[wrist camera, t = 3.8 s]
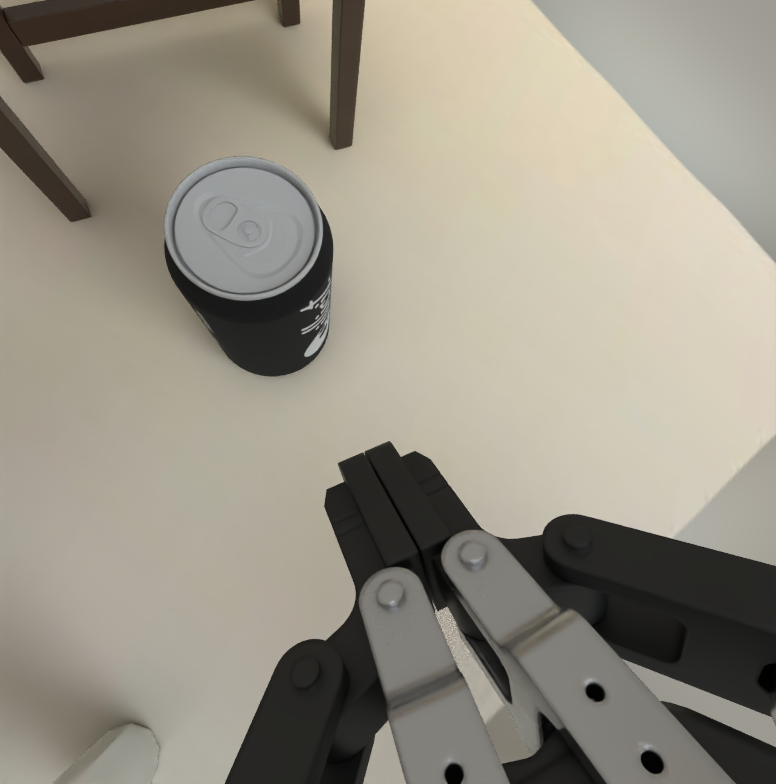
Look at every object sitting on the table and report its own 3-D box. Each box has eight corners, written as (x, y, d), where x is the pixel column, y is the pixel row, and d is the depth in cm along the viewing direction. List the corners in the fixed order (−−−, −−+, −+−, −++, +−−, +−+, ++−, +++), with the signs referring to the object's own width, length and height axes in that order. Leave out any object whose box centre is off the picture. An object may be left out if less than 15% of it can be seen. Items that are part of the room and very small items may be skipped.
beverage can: (292, 399, 29) (273, 343, 18) (195, 343, 29) (112, 248, 17) (348, 309, 31) (365, 203, 19) (256, 255, 31) (217, 114, 19)
